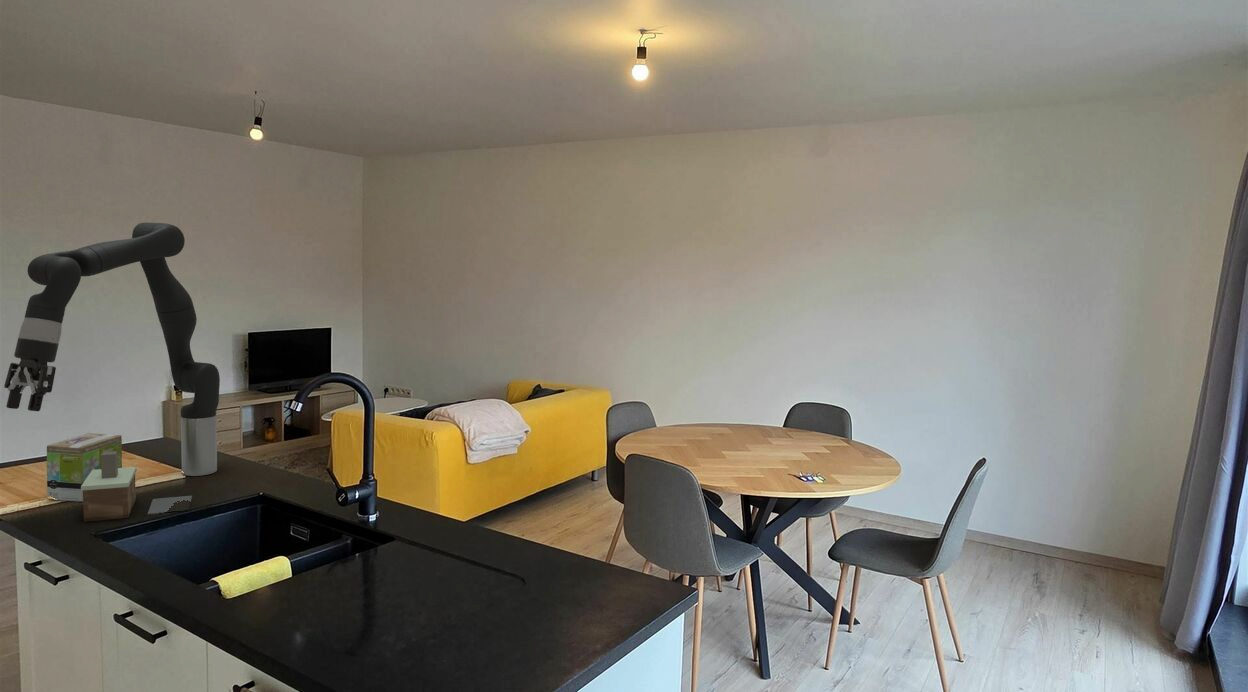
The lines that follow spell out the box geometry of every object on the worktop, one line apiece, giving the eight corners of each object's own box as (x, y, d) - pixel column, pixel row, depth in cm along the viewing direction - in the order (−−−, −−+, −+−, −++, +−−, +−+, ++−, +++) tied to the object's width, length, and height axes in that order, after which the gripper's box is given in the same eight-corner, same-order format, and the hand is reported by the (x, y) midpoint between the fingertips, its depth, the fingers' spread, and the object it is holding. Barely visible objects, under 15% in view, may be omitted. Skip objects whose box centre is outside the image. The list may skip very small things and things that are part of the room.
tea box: (84, 502, 194) (82, 447, 192) (46, 500, 194) (43, 445, 192) (124, 485, 209) (122, 433, 207) (88, 483, 209) (86, 431, 207)
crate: (94, 503, 193) (93, 473, 192) (135, 500, 197) (134, 470, 196) (83, 521, 181) (82, 490, 180) (128, 517, 185) (127, 486, 184)
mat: (153, 500, 198) (153, 498, 198) (192, 496, 202) (192, 495, 202) (147, 514, 188) (147, 513, 188) (188, 510, 192) (188, 509, 192)
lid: (92, 477, 193) (91, 447, 192) (136, 474, 197) (135, 444, 196) (81, 494, 180) (80, 462, 179) (128, 490, 184) (127, 459, 183)
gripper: (74, 344, 172) (59, 413, 170) (39, 342, 178) (23, 409, 176) (38, 337, 166) (21, 410, 163) (3, 335, 172) (-14, 405, 169)
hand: (22, 409), depth 170 cm, fingers open, 8 cm apart
